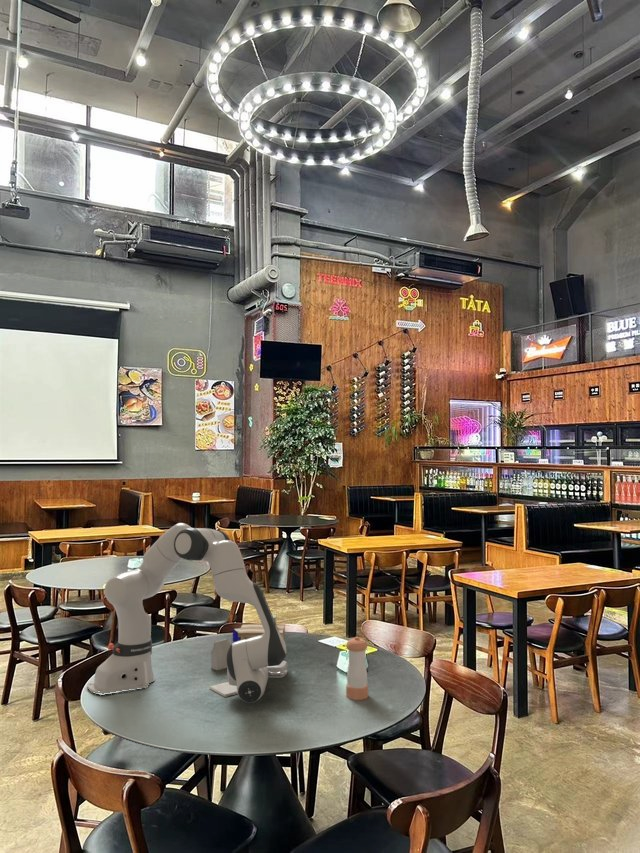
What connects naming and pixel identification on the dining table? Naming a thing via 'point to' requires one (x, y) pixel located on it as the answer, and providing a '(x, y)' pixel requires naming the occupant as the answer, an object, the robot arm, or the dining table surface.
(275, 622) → the sage block
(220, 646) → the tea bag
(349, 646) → the pepper shaker
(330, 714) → the dining table surface
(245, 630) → the box
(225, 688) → the ceramic tile
